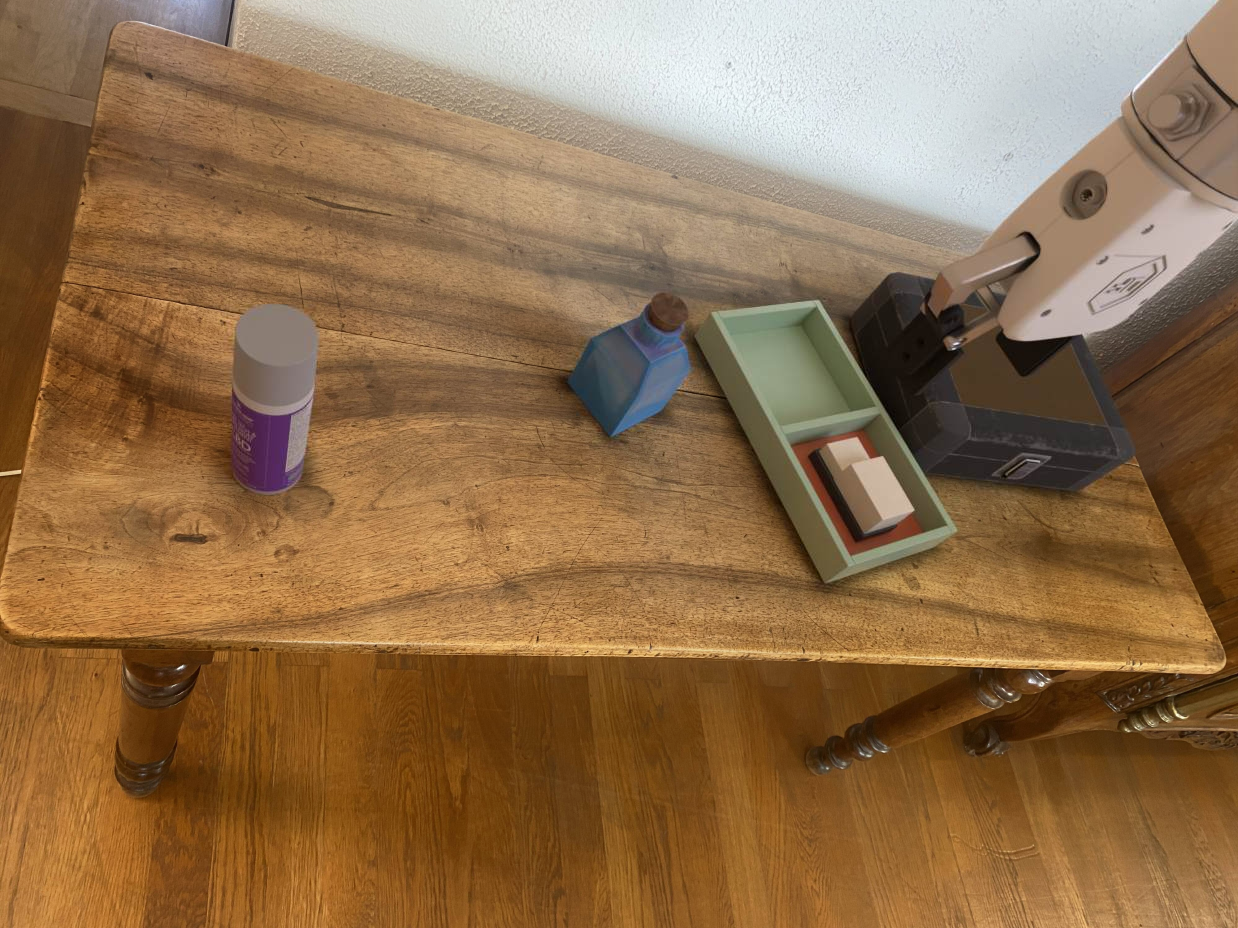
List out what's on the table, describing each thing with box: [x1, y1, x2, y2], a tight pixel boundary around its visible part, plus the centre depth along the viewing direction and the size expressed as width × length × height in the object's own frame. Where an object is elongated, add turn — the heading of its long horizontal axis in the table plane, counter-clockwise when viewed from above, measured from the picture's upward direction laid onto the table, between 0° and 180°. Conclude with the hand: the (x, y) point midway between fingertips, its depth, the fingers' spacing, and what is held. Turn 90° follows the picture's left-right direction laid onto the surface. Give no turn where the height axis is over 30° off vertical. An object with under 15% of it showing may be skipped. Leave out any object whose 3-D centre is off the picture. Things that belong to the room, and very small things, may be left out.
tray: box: [694, 299, 959, 584], centre depth 81 cm, size 14×26×4 cm, turn 24°
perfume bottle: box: [566, 292, 691, 438], centre depth 71 cm, size 6×6×12 cm
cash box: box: [850, 271, 1136, 492], centre depth 90 cm, size 25×20×8 cm
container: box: [230, 303, 320, 496], centre depth 55 cm, size 5×5×15 cm
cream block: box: [808, 437, 914, 542], centre depth 78 cm, size 9×4×4 cm, turn 24°
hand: (957, 365), depth 51 cm, fingers open, 9 cm apart
